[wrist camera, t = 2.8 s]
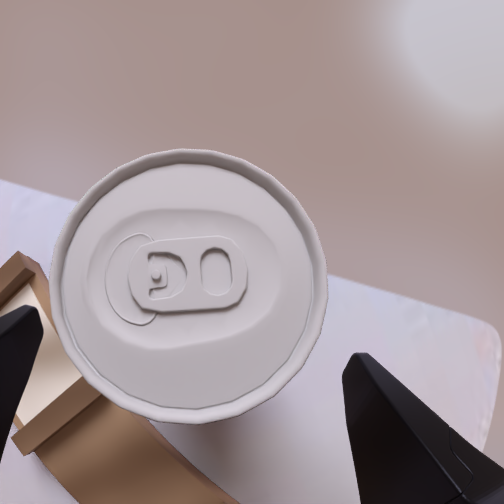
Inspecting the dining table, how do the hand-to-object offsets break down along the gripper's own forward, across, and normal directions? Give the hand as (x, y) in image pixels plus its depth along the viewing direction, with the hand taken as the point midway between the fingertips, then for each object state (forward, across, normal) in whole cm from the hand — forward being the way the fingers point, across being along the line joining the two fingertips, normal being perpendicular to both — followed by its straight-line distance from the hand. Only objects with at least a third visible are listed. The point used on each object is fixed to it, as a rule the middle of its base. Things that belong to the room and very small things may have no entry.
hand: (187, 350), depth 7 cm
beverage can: (+7, 0, +5) cm, 9 cm away
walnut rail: (0, +3, +12) cm, 12 cm away
